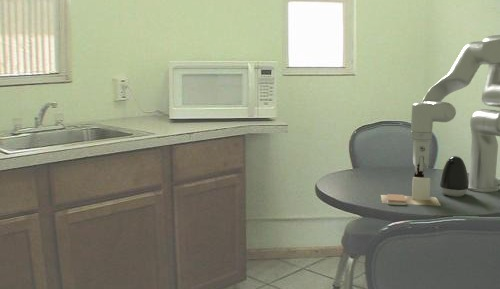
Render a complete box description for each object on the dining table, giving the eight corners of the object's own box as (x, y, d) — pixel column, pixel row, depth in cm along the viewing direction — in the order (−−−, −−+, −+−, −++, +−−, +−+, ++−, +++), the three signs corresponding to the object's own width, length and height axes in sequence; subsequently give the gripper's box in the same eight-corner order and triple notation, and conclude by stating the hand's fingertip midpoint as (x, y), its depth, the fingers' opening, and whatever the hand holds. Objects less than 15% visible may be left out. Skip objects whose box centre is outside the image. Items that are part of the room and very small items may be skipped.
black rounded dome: (433, 195, 191) (436, 156, 188) (446, 190, 198) (448, 152, 196) (460, 201, 184) (463, 160, 181) (472, 195, 191) (475, 156, 188)
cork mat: (436, 198, 187) (436, 197, 187) (441, 207, 176) (441, 205, 176) (380, 196, 191) (380, 194, 190) (382, 204, 180) (382, 202, 180)
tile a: (428, 198, 185) (429, 177, 183) (429, 200, 183) (430, 178, 182) (411, 198, 186) (412, 177, 184) (412, 199, 184) (413, 177, 183)
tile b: (403, 194, 184) (406, 200, 177) (403, 199, 185) (405, 205, 177) (386, 194, 186) (388, 199, 178) (386, 198, 186) (388, 204, 178)
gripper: (434, 139, 179) (431, 189, 182) (429, 133, 193) (426, 180, 196) (412, 138, 180) (410, 188, 183) (408, 132, 195) (406, 179, 198)
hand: (418, 184), depth 190 cm, fingers closed
